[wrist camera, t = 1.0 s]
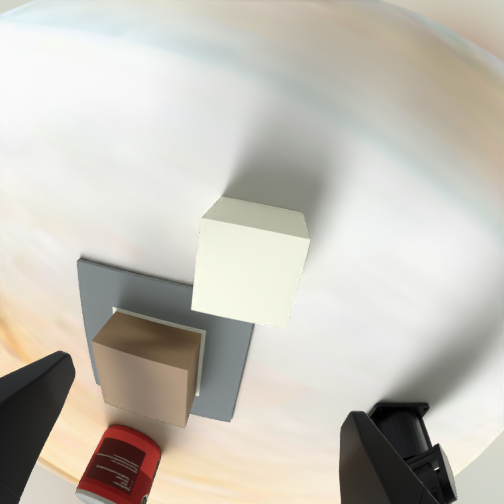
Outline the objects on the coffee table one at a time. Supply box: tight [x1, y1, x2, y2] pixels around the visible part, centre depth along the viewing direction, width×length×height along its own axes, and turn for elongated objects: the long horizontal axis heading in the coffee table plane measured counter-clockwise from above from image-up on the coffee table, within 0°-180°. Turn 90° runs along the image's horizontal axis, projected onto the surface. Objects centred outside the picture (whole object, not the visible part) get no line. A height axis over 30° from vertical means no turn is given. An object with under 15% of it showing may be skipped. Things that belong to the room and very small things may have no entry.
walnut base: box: [92, 311, 202, 428], centre depth 21 cm, size 7×7×4 cm
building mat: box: [77, 259, 253, 422], centre depth 23 cm, size 14×14×1 cm
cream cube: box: [191, 196, 311, 329], centre depth 17 cm, size 5×5×5 cm
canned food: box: [75, 425, 161, 504], centre depth 25 cm, size 8×8×11 cm
